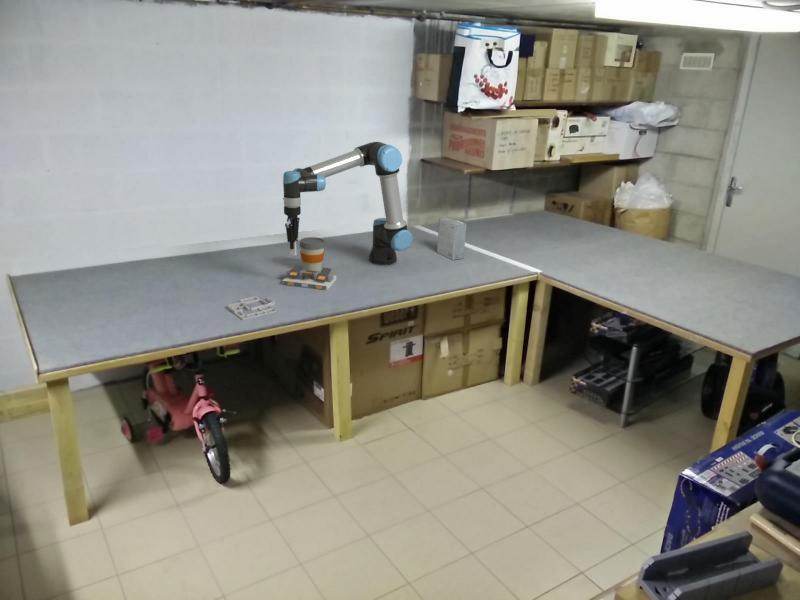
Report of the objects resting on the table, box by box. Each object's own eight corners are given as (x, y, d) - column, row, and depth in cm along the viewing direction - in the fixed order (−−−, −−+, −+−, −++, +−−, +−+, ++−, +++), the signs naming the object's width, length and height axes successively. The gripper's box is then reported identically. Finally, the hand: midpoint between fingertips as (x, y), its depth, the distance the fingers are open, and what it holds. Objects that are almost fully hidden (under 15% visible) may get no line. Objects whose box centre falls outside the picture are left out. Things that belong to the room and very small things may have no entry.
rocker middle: (318, 273, 304) (318, 270, 303) (311, 276, 294) (311, 273, 294) (308, 272, 305) (308, 269, 304) (301, 275, 295) (301, 272, 295)
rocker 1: (304, 268, 304) (304, 265, 304) (297, 278, 296) (297, 275, 295) (294, 266, 305) (294, 264, 304) (287, 277, 297) (287, 274, 296)
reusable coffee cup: (322, 264, 325) (323, 236, 320) (326, 272, 314) (326, 244, 308) (298, 265, 322) (298, 237, 317) (301, 273, 311) (300, 244, 305)
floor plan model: (256, 293, 285) (256, 289, 285) (283, 311, 268) (283, 307, 267) (217, 301, 274) (217, 297, 273) (242, 321, 256) (242, 317, 256)
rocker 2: (332, 270, 302) (331, 268, 301) (325, 282, 294) (325, 280, 293) (322, 269, 303) (321, 267, 302) (315, 281, 295) (315, 278, 294)
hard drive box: (464, 258, 346) (467, 224, 339) (453, 260, 342) (456, 225, 335) (446, 251, 358) (449, 217, 351) (436, 252, 354) (438, 218, 347)
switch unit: (336, 279, 306) (336, 269, 304) (326, 290, 292) (326, 280, 290) (293, 274, 310) (293, 264, 308) (282, 284, 295) (282, 274, 294)
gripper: (289, 201, 291) (290, 250, 300) (279, 208, 279) (280, 258, 288) (304, 203, 289) (305, 251, 298) (295, 209, 278) (295, 260, 287)
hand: (293, 254), depth 293 cm, fingers closed
